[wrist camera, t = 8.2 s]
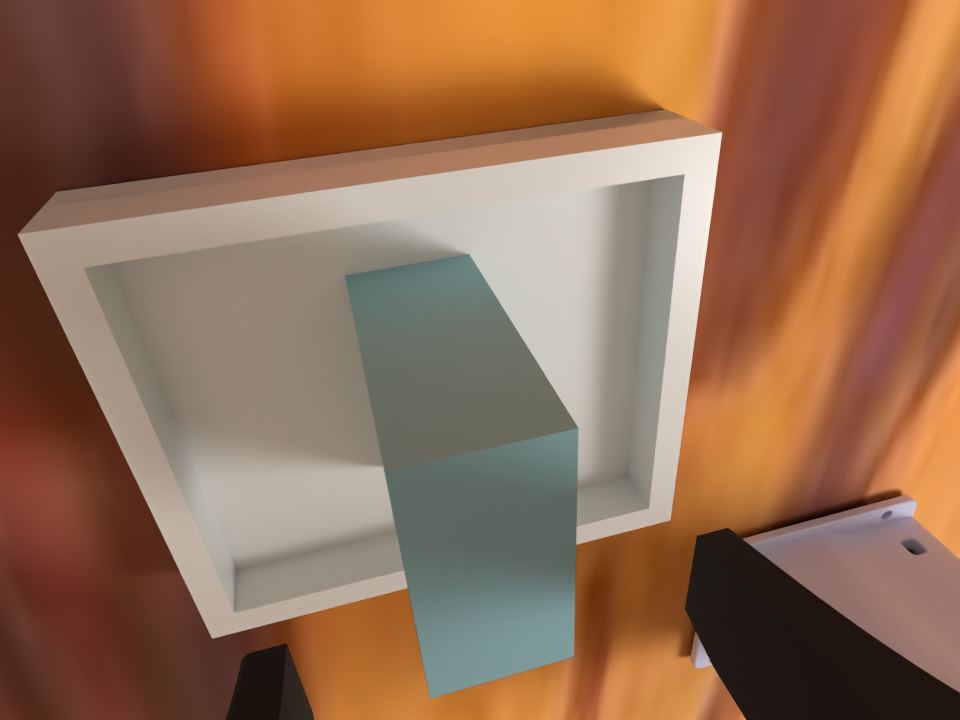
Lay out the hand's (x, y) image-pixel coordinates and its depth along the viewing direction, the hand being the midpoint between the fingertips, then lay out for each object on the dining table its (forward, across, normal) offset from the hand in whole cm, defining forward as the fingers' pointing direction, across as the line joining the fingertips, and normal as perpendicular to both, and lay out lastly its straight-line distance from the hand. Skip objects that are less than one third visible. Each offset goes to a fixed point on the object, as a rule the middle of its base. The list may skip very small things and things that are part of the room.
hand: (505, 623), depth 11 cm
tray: (+8, 0, 0) cm, 9 cm away
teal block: (+8, 0, 0) cm, 8 cm away
